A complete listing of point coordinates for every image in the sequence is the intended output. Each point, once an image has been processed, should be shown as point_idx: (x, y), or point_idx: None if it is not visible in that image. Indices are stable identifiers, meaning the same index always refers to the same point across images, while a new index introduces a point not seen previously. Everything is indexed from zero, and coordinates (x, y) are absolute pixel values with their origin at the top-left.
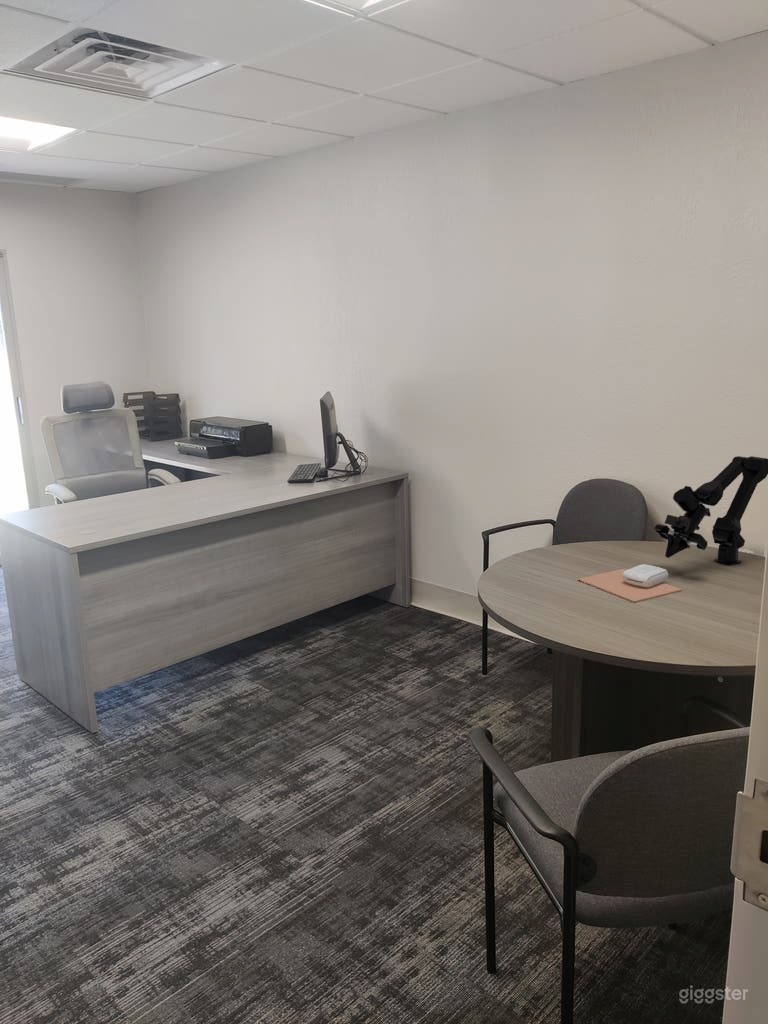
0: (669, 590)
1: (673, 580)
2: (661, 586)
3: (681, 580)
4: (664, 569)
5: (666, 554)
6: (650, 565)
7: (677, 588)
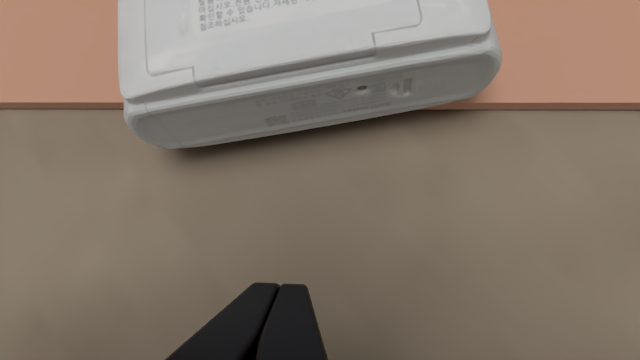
0: (26, 5)
1: (192, 278)
2: None
3: (138, 347)
4: (143, 76)
5: (275, 294)
6: (359, 38)
7: (3, 87)
